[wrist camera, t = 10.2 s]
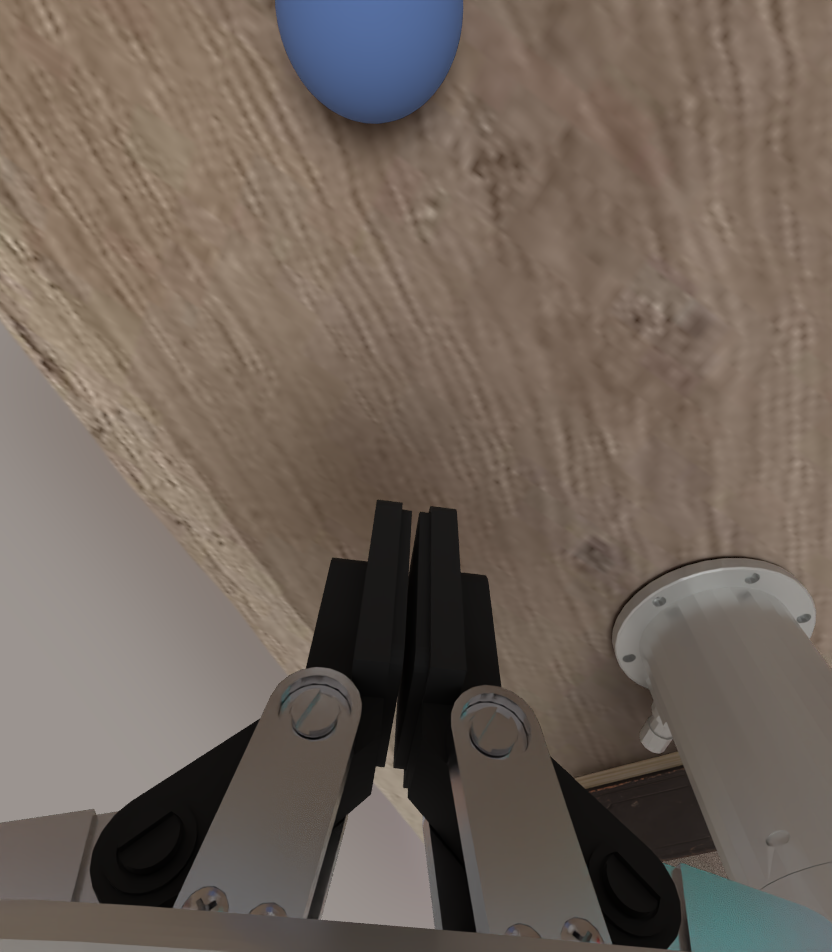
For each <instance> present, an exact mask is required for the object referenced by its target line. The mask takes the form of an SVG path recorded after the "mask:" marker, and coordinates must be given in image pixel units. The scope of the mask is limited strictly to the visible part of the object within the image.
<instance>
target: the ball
mask: <svg viewBox="0 0 832 952" xmlns="http://www.w3.org/2000/svg"><path fill="white" fill-rule="evenodd" d="M275 8H276V15H277V22H278V27H279V31H280V35H281V39H282V42H283V45H284V47H285V50H286V53H287V55H288V57H289V59H290V61H291V64H292V66H293V68H294V69H295V71H296V73H297V74H298V76H299V78H300V79H301V81H302V82H303V83H304V85H305V86H306V87H307V89H308V90H309V91H310V92H311V93H312V94H313V95H314V96H315V97H316V98H317V99H318V100H319V101H320V102H321V103H322V104H324V105H325V106H326V107H328V108H329V109H330V110H332V111H334V112H335V113H337V114H339V115H341V116H343V117H345V118H348V119H350V120H353V121H357V122H362V123H375V124H379V123H386V122H391V121H395V120H398V119H401V118H403V117H405V116H407V115H409V114H411V113H412V112H414V111H415V110H417V109H418V108H420V107H421V106H422V105H424V104H425V103H426V102H427V101H428V100H429V99H430V98H431V97H432V96H433V94H434V93H435V92H436V91H437V89H438V88H439V86H440V85H441V84H442V82H443V81H444V79H445V77H446V75H447V73H448V71H449V69H450V67H451V65H452V62H453V60H454V57H455V55H456V51H457V47H458V44H459V40H460V34H461V28H462V19H463V0H275Z"/></svg>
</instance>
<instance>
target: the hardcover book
mask: <svg viewBox="0 0 832 952" xmlns="http://www.w3.org/2000/svg"><path fill="white" fill-rule="evenodd" d="M574 779H575V780H576V781H577V782H578V783H580V784H581V785H582V786H583V787H584V788H585V789H586V790H587V791H588V792H589V793H590V794H591V795H593V796H594V797H595V798H596V799H597V800H598V801H599V802H600V803H601V804H602V805H603V806H604V807H605V808H607V809H608V810H609V811H610V812H611V813H612V814H613V815H614V816H615V817H616V818H617V819H618V820H619V821H621V822H622V823H623V824H624V825H625V826H626V827H627V828H628V829H629V830H630V831H631V832H632V833H633V834H635V835H636V836H637V837H638V838H639V839H640V840H641V841H642V842H643V843H644V844H645V845H646V846H648V847H649V848H650V849H651V850H652V852H653V853H654V854H655V855H656V856H657V857H658V858H659V859H660V861H661V862H663V861H668V860H673V859H678V858H683V857H688V856H693V855H698V854H703V853H708V852H713V851H717V850H716V847H715V845H714V842H713V839H712V837H711V834H710V832H709V829H708V827H707V824H706V822H705V819H704V816H703V814H702V811H701V809H700V806H699V804H698V801H697V799H696V796H695V794H694V791H693V788H692V786H691V783H690V781H689V778H688V776H687V773H686V771H685V768H684V766H683V763H682V760H681V758H680V755H679V753H678V752H674V753H670V754H666V755H663V756H659V757H655V758H651V759H647V760H643V761H639V762H635V763H631V764H627V765H623V766H619V767H615V768H612V769H608V770H604V771H600V772H596V773H592V774H588V775H584V776H580V777H576V778H574Z"/></svg>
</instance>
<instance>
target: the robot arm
mask: <svg viewBox="0 0 832 952" xmlns="http://www.w3.org/2000/svg"><path fill="white" fill-rule="evenodd" d="M411 519H412V511H409V510H402V503H400V502H392V501H384V500H377V503H376V510H375V517H374V524H373V530H372V537H371V544H370V551H369V557H368V562H366V561H357V560H349V559H340V558H332V560H331V564H330V567H329V572H328V576H327V580H326V585H325V589H324V593H323V597H322V602H321V606H320V610H319V615H318V619H317V623H316V627H315V632H314V636H313V640H312V645H311V649H310V653H309V657H308V662H307V666H306V669H302V670H300V671H297V672H295V673H293V674H291V675H289V676H288V677H286V678H285V679H284V680H283V681H282V682H280V683H279V684H278V686H277V687H276V689H275V690H274V692H273V693H272V695H271V696H270V699H269V701H268V703H267V705H266V707H265V709H264V712H263V714H262V716H261V718H260V719H259V720H257V721H255V722H254V723H252V724H251V725H249V726H248V727H246V728H245V729H243V730H241V731H240V732H238V733H237V734H235V735H234V736H232V737H231V738H229V739H227V740H226V741H224V742H223V743H221V744H220V745H218V746H217V747H215V748H213V749H212V750H210V751H209V752H207V753H206V754H204V755H203V756H201V757H199V758H198V759H196V760H195V761H193V762H192V763H190V764H189V765H187V766H186V767H184V768H183V769H181V770H179V771H178V772H176V773H175V774H173V775H171V776H170V777H168V778H167V779H165V780H164V781H162V782H161V783H159V784H158V785H156V786H154V787H153V788H151V789H150V790H148V791H147V792H145V793H143V794H142V795H140V796H139V797H137V798H136V799H134V800H133V801H131V802H130V803H129V804H127V805H126V806H125V807H124V808H122V809H121V810H120V811H118V812H112V813H105V814H98V815H96V813H95V810H94V809H90V810H83V811H77V812H70V813H63V814H56V815H49V816H43V817H36V818H29V819H22V820H16V821H9V822H2V823H0V952H832V669H831V668H830V666H829V665H828V664H827V662H826V661H825V659H824V658H823V657H822V655H821V654H820V653H819V651H818V650H817V649H816V647H815V646H814V645H813V643H812V642H811V640H810V637H811V635H812V632H813V629H814V627H815V624H816V608H815V605H814V601H813V599H812V597H811V596H810V594H809V593H808V591H807V590H806V588H805V587H804V586H803V585H802V584H801V582H800V581H799V580H798V579H797V578H796V577H795V576H794V575H793V574H791V573H790V572H788V571H786V570H785V569H783V568H782V567H780V566H777V565H774V564H771V563H768V562H765V561H760V560H754V559H748V558H723V559H716V560H708V561H703V562H699V563H695V564H691V565H687V566H684V567H682V568H679V569H677V570H674V571H672V572H669V573H667V574H665V575H663V576H661V577H660V578H658V579H656V580H654V581H652V582H651V583H649V584H648V585H647V586H645V587H644V588H643V589H641V590H640V591H639V592H638V593H636V594H635V595H634V596H633V597H632V598H631V599H630V601H629V602H628V603H627V604H626V605H625V606H624V607H623V609H622V611H621V612H620V614H619V615H618V617H617V619H616V622H615V625H614V628H613V632H612V644H613V649H614V653H615V655H616V658H617V660H618V663H619V665H620V668H621V669H622V670H623V671H624V673H625V674H626V675H627V676H628V677H629V678H630V679H632V680H633V681H634V682H635V683H637V684H638V685H641V686H643V687H645V688H647V689H649V690H650V693H651V695H652V698H653V703H652V705H651V710H652V714H653V715H652V716H650V717H649V718H648V719H647V721H646V723H645V724H644V726H643V728H642V729H641V731H640V734H639V738H640V741H641V743H642V744H643V745H644V747H645V748H646V749H648V750H649V751H651V752H653V753H658V754H659V753H662V752H664V751H665V749H666V748H667V746H668V745H669V743H670V742H671V741H672V739H673V740H674V743H675V745H676V748H677V750H678V753H679V755H680V758H681V760H682V763H683V766H684V768H685V771H686V773H687V776H688V778H689V781H690V783H691V786H692V788H693V791H694V794H695V796H696V799H697V801H698V804H699V806H700V809H701V811H702V814H703V816H704V819H705V822H706V824H707V827H708V829H709V832H710V834H711V837H712V839H713V842H714V845H715V847H716V850H717V852H718V855H719V857H720V860H721V862H722V865H723V867H724V870H725V873H726V875H727V878H728V879H726V878H723V877H720V876H717V875H715V874H712V873H709V872H706V871H703V870H700V869H697V868H695V867H692V866H689V865H686V864H683V863H679V864H678V865H677V866H676V867H673V866H670V865H668V864H665V863H662V862H661V861H660V859H659V858H658V857H657V856H656V855H655V854H654V853H653V852H652V850H651V849H650V848H649V847H648V846H646V845H645V844H644V843H643V842H642V841H641V840H640V839H639V838H638V837H637V836H636V835H635V834H633V833H632V832H631V831H630V830H629V829H628V828H627V827H626V826H625V825H624V824H623V823H622V822H621V821H619V820H618V819H617V818H616V817H615V816H614V815H613V814H612V813H611V812H610V811H609V810H608V809H607V808H605V807H604V806H603V805H602V804H601V803H600V802H599V801H598V800H597V799H596V798H595V797H594V796H593V795H591V794H590V793H589V792H588V791H587V790H586V789H585V788H584V787H583V786H582V785H581V784H580V783H578V782H577V781H576V780H575V779H574V778H573V777H572V776H571V775H570V774H569V773H568V772H567V771H566V770H564V769H563V768H562V767H561V766H560V765H559V764H558V763H557V762H556V761H555V760H554V759H553V758H552V757H550V755H549V752H548V749H547V746H546V743H545V740H544V736H543V733H542V730H541V727H540V724H539V722H538V720H537V718H536V716H535V714H534V712H533V710H532V709H531V708H530V707H529V706H528V704H527V703H526V702H525V701H524V700H523V699H522V698H520V697H519V696H517V695H516V694H515V693H513V692H512V691H509V690H507V689H504V688H501V681H500V673H499V665H498V657H497V649H496V641H495V632H494V624H493V616H492V608H491V600H490V591H489V584H488V579H487V577H486V575H478V574H469V573H461V571H460V555H459V539H458V523H457V510H456V509H449V508H441V507H433V506H431V507H430V509H429V513H425V512H420V513H419V517H418V523H417V529H416V535H415V541H414V547H413V553H412V559H411V565H410V571H409V556H410V537H411ZM408 575H409V577H408ZM397 696H398V698H397ZM396 702H397V714H396V731H395V747H394V768H398V769H404V782H403V788H408V798H409V800H410V801H411V802H412V803H413V804H414V806H415V807H416V808H417V809H418V810H419V812H420V813H421V814H422V815H423V834H424V842H425V851H426V858H427V867H428V875H429V883H430V892H431V900H432V908H433V917H434V925H435V929H425V928H413V927H400V926H387V925H376V924H364V923H352V922H340V921H328V920H321V917H322V913H323V910H324V906H325V902H326V898H327V895H328V891H329V887H330V884H331V880H332V876H333V872H334V868H335V864H336V861H337V857H338V853H339V850H340V846H341V842H342V838H343V835H344V830H345V826H346V823H347V819H348V814H349V813H350V812H351V811H352V810H353V809H354V808H355V807H357V806H358V805H359V804H360V803H361V802H363V801H364V800H365V799H366V798H367V797H368V796H369V795H371V791H372V785H373V779H374V773H375V767H376V766H378V767H385V762H386V756H387V751H388V745H389V740H390V734H391V729H392V724H393V718H394V713H395V707H396Z"/></svg>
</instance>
